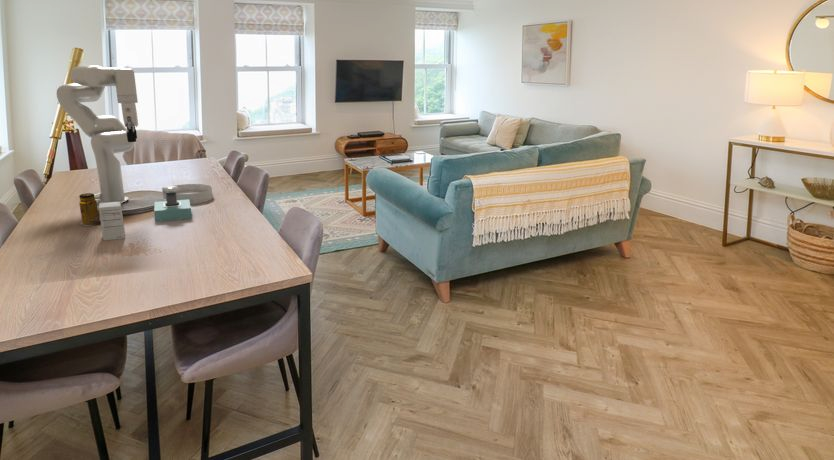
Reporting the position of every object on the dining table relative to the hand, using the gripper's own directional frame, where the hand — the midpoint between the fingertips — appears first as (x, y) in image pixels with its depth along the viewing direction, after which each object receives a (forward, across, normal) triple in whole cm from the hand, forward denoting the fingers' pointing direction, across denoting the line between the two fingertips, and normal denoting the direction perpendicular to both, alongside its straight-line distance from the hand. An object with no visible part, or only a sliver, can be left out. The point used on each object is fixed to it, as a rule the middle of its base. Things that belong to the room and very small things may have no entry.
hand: (132, 140), depth 250 cm
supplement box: (+31, -40, +8) cm, 51 cm away
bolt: (+30, -15, -13) cm, 36 cm away
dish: (+31, +14, -20) cm, 39 cm away
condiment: (+31, -17, +17) cm, 39 cm away
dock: (+30, -15, -13) cm, 36 cm away
